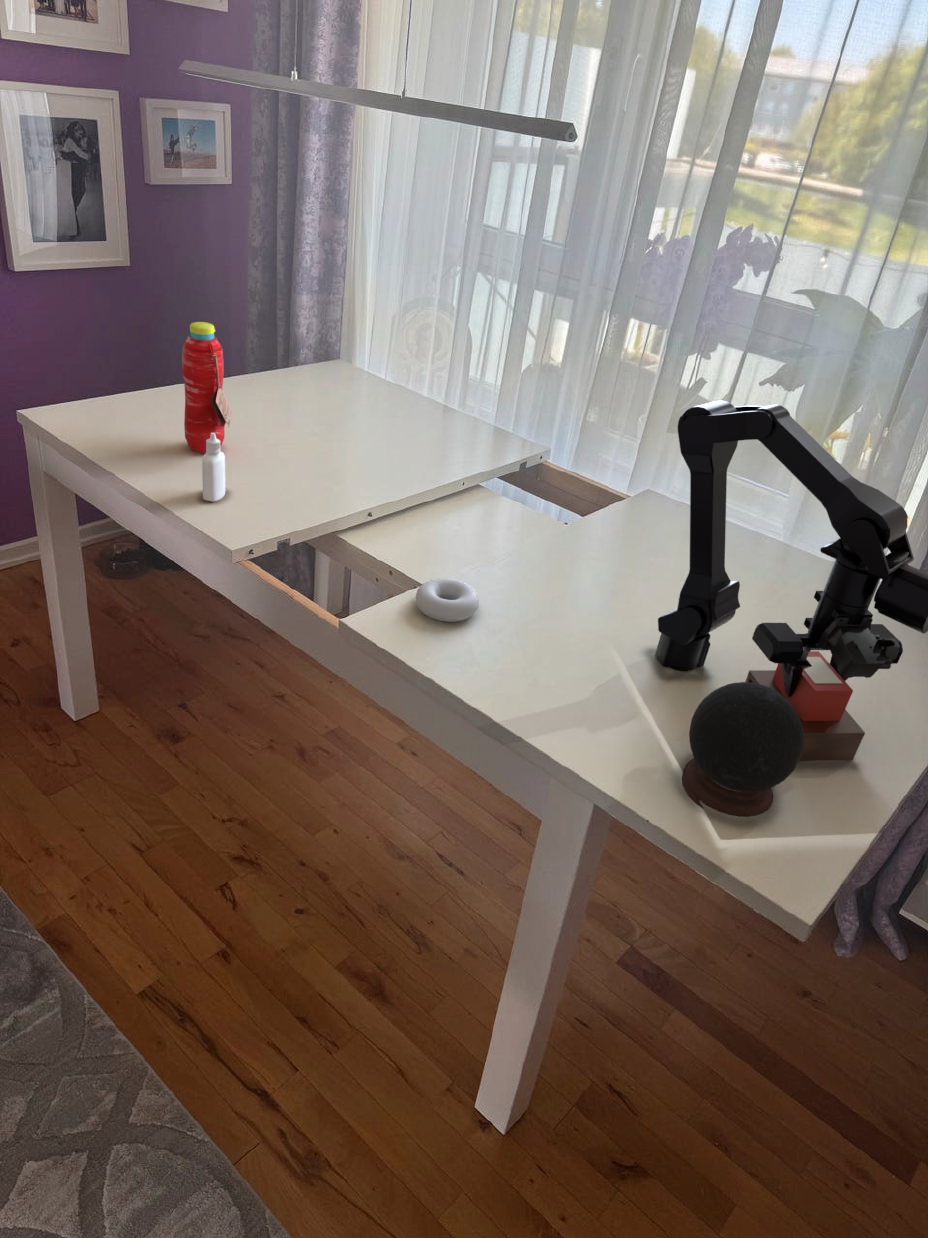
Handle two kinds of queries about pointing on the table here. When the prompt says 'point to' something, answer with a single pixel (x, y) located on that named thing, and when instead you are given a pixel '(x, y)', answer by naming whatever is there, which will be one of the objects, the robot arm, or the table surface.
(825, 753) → the block
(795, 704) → the carton
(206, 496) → the eye dropper bottle
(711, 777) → the sphere on wooden stand
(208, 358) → the water bottle
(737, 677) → the table surface
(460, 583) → the donut
